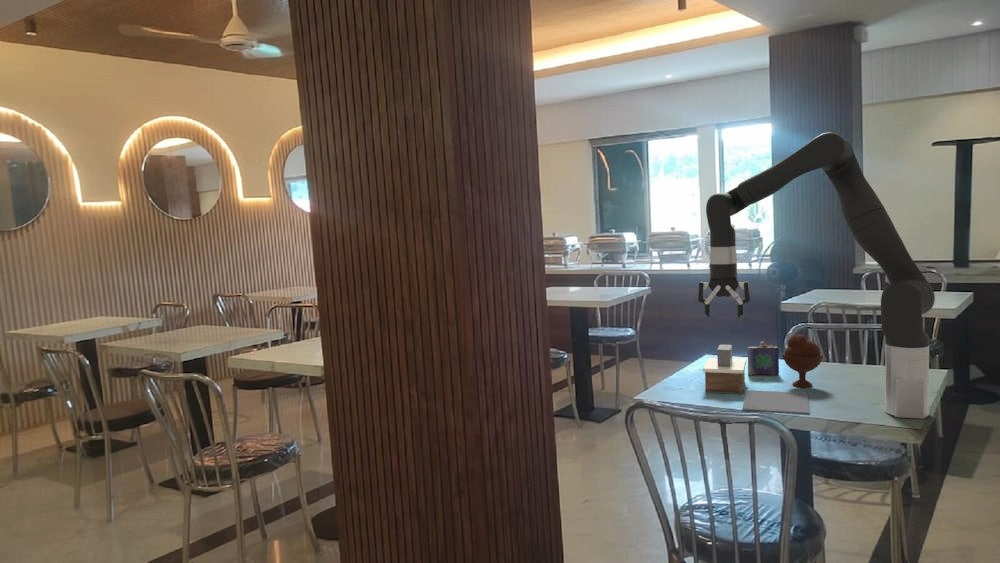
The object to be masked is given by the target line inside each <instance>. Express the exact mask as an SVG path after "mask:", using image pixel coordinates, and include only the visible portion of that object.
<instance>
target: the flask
mask: <svg viewBox="0 0 1000 563" xmlns="http://www.w3.org/2000/svg"><path fill="white" fill-rule="evenodd" d="M759 343H760V344H759V346H748V347H747V374H748V376H753V377H755V376H757V377H758V376H759V377H760V376H761V377H765V376H771V377H773V376H775V377H778V376H779V374H780V369H779V368H780V362H779V357H780V356H779V355H780V354H779V352H780V351H779V350H780V349H779V347H778V346H776V345H775V346H774V345H773V344H771V345H769V344H768V345H767V344H766V343H765V341H764V340H761V341H759Z"/></svg>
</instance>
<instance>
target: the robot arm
mask: <svg viewBox="0 0 1000 563" xmlns="http://www.w3.org/2000/svg"><path fill="white" fill-rule="evenodd" d="M818 169H822V170H823V172H824V173H825V174H826V176H827V177H828V179H829V180H830V182H831V183H832V185H833V187H834V188H835V190H836V193H837V195H838V200H839V203H840V204H839V205H840V209H841V212H842V214H843V218H844V221H845V223H846V225H847V226H848V228H849V231H850V232H851V234H852V236H853V238H854V240H855V241H856V242H857V244H858V246H859V247H861V249H862V250H864V252H866V254H868V255H869V257H870V258H872V259H873V260H874V261H875V262H876V264H878V265H879V267H880V268H881V269H882V271H883V273H884V274H885V276H886V277H887V279H888V282H889V284H887V285H886V286H885V287H884V288H883V290H882V293H881V298H880V319H881V320H880V321H881V330H882V333H883V336H884V340H885V342H884V343H885V344H884V345H885V354H884V355H885V356H884V359H885V360H884V361H885V369H884V372H885V374H884V376H885V379H884V384H885V385H884V389H885V390H884V394H885V395H884V397H885V398H884V400H885V402H884V404H885V405H884V406H885V407H884V408H885V410H884V411H885V413H886V414H889V415H891V416H894V417H895V418H904V419H905V418H906V419H907V418H908V419H921V420H923V419H925V418H926V417H928V416H929V415H930V413H929V411H930V397H929V396H930V336H929V334H928V333H927V332H926V331H925V330H924V328H923V315H925V314H926V313H928V312H930V311H931V309H932V308H933V307H934V305H935V301H936V300H935V292H934V289H933V287H932V285H931V284H930V282H929V281H928V280H927V279H926V277H925V276H924V274H923V272H922V271H921V270H920V268H919V267H918V265H917V264H916V263H915V261H914V260H913V258H912V257H911V255H910V253H909V251H908V250H907V248H906V246H905V244H904V242H903V240H902V238H901V236H900V234H899V233H898V231H897V229H896V227H895V224H894V223H893V221H892V219H891V217H890V215H889V214H888V211H887V210H886V208H885V206H884V205H883V203H882V202H881V200H880V198H879V197H878V195H877V193H876V192H875V191H874V189H873V188H872V186H871V185H870V183H869V182H868V180H867V179H866V177H865V175H864V174H863V172H862V169H861V167H860V164H859V161H858V159H857V157H856V154H855V151H854V149H853V145H852V144H851V143H850V141H849V140H848V139H846V138H845V137H844V136H842V135H840V134H838V133H836V132H831V131H829V132H823V133H821V134H819V135H817V136H815V137H814V138H813V139H811V140H810V141H809V142H807V143H805V145H803V146H802V147H800V148H799V149H798V150H796V151H794V152H793V153H791V154H790V155H788V156H787V157H785V158H784V159H782V160H781V161H779V162H777V163H775V164H774V165H772V166H770V167H768V168H766V169H765V170H763V171H761V172H758V173H756V174H754V175H752V176H750V177H749V178H747V179H745V180H743V181H741V182H740V183H739V184H738V185H737V186H736V187H734V188H733V189H731V190H729V191H727V192H721V193H720V192H719V193H715V194H712V195H711V196H710V197H709V198H708V199H707V201H706V206H705V213H706V219H707V224H708V225H707V226H708V228H709V232H710V233H709V234H710V235H709V239H710V240H709V242H710V245H709V246H710V249H709V282H704V281H700V282H699V283H698V298H697V299H698V302H699V303H702V304H703V305H704V315H705V316H707V317H708V318H711V301H712V300H713V299H714V297H719V298H721V297H726V298H729V297H731V296H732V298H733V299H734V300H735V301H736V302H737V303H738V304H737V318H742V316H743V315H744V305H745V304H747V303H750V300H751V296H750V285H749V284H750V283H749V281H747V280H746V281H742V282H741V281H738V264H737V263H738V262H737V261H738V258H737V257H738V256H737V255H738V254H737V247H736V244H737V243H736V230H735V228H734V227H733V226H732V221H731V219H732V218H731V217H732V216H734V215H736V214H738V213H740V212H741V211H743V210H744V209H746V208H748V207H749V206H750V205H753V204H756V203H758V202H760V201H762V200H764V199H766V198H769V197H770V196H772V195H773V194H776V193H777V192H778V191H780V190H781V189H783V188H784V187H786V186H787V185H788V184H790V183H791V182H792V181H794V180H795V179H797V178H799V177H800V176H802V175H805V174H807V173H810V172H812V171H815V170H818ZM707 287H708V288H709V289H710V290H711V293H710V294H709V295H708V297H707V298H704V296H705V294H704V292H705V290H707ZM739 287H740V289H742V290H743V291H744V298H741V296H740V294H739V293H738V292H737V289H738V288H739Z"/></svg>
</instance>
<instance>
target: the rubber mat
mask: <svg viewBox="0 0 1000 563" xmlns="http://www.w3.org/2000/svg"><path fill="white" fill-rule="evenodd" d="M808 397H809V396H808V392H796V391H795V392H794V391H777V390H776V391H774V390H773V391H772V390H753V389H746V390H745V395H744V398H743V399H744V400H743V405H742V407H741V408H742V411H748V412H762V413H763V412H765V413H780V414H783V413H784V414H797V415H798V414H800V415H810V414H811V412H810V411H811V410H810V404H809V403H810V402H809V398H808Z"/></svg>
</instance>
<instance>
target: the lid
mask: <svg viewBox="0 0 1000 563" xmlns="http://www.w3.org/2000/svg"><path fill="white" fill-rule="evenodd" d="M716 352H717V358H716V357H713V358H712V357H708V358H707V360H706V362H705V364H704V366H703V368H702V373H705V372H716V373H741V374H743V373H745V369H746V365H747V359H746V358H743V359H742V358H733V344H719V345H718V347H717V351H716Z"/></svg>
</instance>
